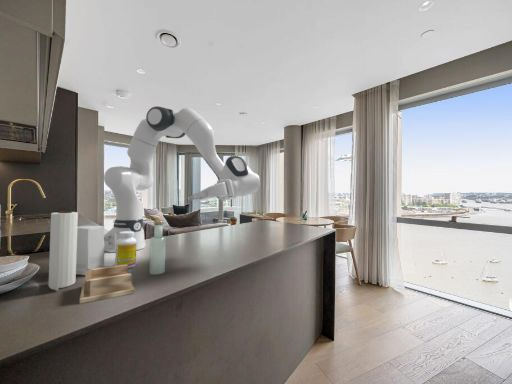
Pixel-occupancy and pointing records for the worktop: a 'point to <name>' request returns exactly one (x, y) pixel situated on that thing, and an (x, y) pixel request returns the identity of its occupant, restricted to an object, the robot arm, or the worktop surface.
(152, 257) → the glass bottle
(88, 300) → the bottle stand
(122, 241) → the supplement bottle
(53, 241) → the paper towel roll
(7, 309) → the worktop surface
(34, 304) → the worktop surface
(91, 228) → the skincare box
